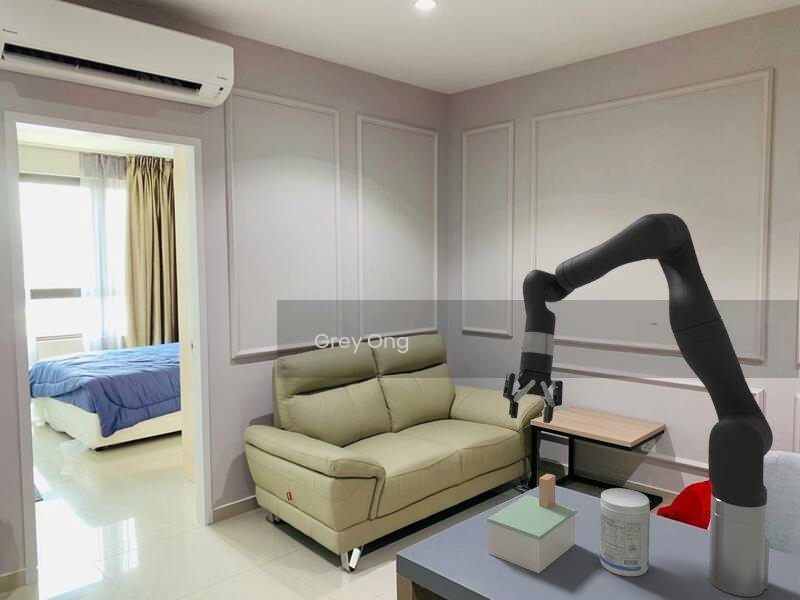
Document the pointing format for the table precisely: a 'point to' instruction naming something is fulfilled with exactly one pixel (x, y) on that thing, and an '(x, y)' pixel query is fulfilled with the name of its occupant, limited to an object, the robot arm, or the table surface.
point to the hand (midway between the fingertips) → (530, 420)
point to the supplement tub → (624, 531)
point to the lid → (534, 512)
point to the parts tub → (531, 545)
